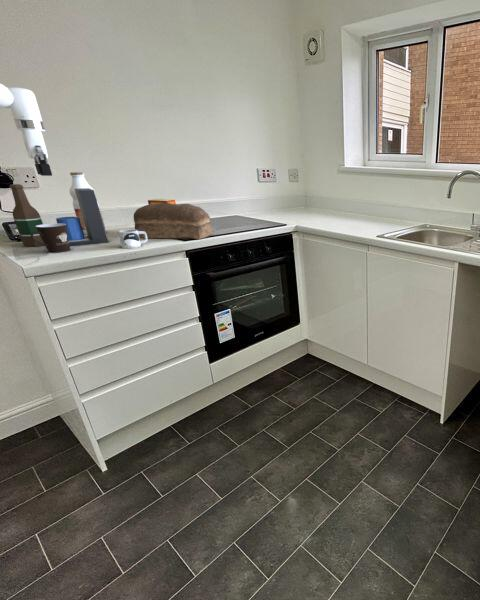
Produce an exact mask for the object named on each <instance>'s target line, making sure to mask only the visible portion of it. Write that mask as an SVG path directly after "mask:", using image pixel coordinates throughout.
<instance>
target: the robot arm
mask: <svg viewBox="0 0 480 600" xmlns="http://www.w3.org/2000/svg"><path fill="white" fill-rule="evenodd" d="M37 101H38V100H37V98H36V95H35V93H34V91H32V90H30V89H28V88H24V87H15V86H5V84H2V83H0V109H10V112H11V115H12V118H13V121H14V125H15V127H16V130H17V131H21V135H22V139H23V142H24V146H25V149H26V151H27V152H26V153H27V156H28V158H29V159H31V160H33V162H34V166H35V170H36V172H37V174H38V175H40V176H42V177H51V176H53V173H52V169H51V165H50V164H49V161H48V159H49V155H48V150H47V145H46V143H45V138H44V135H43V133H45V132H46V128H45V124H44V121H43V118H42V114H41V110H40V108H39V104H38V102H37ZM42 132H43V133H42Z"/></svg>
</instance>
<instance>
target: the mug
mask: <svg viewBox="0 0 480 600" xmlns="http://www.w3.org/2000/svg"><path fill="white" fill-rule="evenodd" d="M117 234H118V238H119V242H120V245H121V248H122V249H135V248H141V247H142V244H144V243H147V242H148V241H149V238H147V234H146V232H144V231H137V230H135V228H134V229H131V228H130V229H120V230H117ZM138 234H144V236H145V238H144V240H140V239H141V238H139V235H138Z"/></svg>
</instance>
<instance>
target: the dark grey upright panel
mask: <svg viewBox="0 0 480 600" xmlns="http://www.w3.org/2000/svg"><path fill="white" fill-rule="evenodd" d="M94 191H95V189H94V190H92V189H90V188H81V189H75V193H76V196H77V199H78V203H79V206H80V210H81V213H82V217H83V220H84V223H85V227H86V230H87V234H88V235H84V237H85V239H82V240H75V241H69V245H70V247H75V246H84V245H95V244H104V243H109V240H108V239H109V238H108V236H107V233H105V229H106V227H105V228H104V225H105V223H104V224H103V221H104V220H103V221H102V218H103V216H102V217H101V214H102V212H101V213H100V210H101V209H100V210H99V206H100V205H99V206H98V204H99V202H98V203H97V201H98V199H97V195H96V196H95V194H96V191H95V192H94Z"/></svg>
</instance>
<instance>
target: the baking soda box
mask: <svg viewBox="0 0 480 600" xmlns="http://www.w3.org/2000/svg"><path fill="white" fill-rule="evenodd" d="M147 203H148V204H147V205H150V204H160V203H171V204H177V203H176V199H168V198H153V199H147Z"/></svg>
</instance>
